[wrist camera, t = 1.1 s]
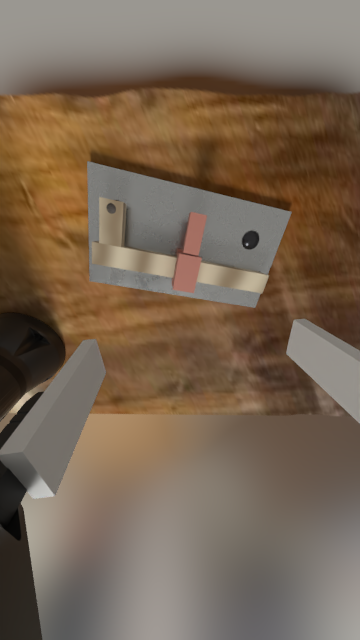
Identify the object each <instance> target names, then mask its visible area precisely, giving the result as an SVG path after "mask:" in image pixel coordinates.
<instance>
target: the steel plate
mask: <svg viewBox="0 0 360 640" xmlns="http://www.w3.org/2000/svg"><path fill="white" fill-rule="evenodd" d="M87 168H88V220H89V273H90V281H93V282H99V283H106V284H112V285H118V286H124V287H130V288H136V289H143V290H149V291H155V292H161V293H167V294H173V295H180V296H186V297H192V298H198V299H204V300H210V301H217V302H223V303H229V304H235V305H241V306H247V307H254V308H255V307H256V304H257V301H258V299H259V296H260V293H257V292H251V291H245V290H240V289H234V288H228V287H222V286H217V285H211V284H205V283H200V282H196V286H195V290H194V293H189V292H183V291H177V290H173V286H172V278H171V277H165V276H160V275H154V274H148V273H142V272H137V271H131V270H125V269H120V268H114V267H108V266H102V265H97V264H92V242H93V241H99V197H102V198H107V199H111V200H116V201H120V202H124V203H125V204H126V205H127V206H126V224H125V242H124V246H127V247H133V248H138V249H143V250H148V251H153V252H159V253H164V254H169V255H174V256H177V254H176V253H177V248H178V249H183V246H184V240H185V234H186V229H187V223H188V218H189V213H190V212H194V213H199V214H203V215H207V219H206V223H205V228H204V233H203V237H202V242H201V246H200V251H199V257H201V258H202V259H201V261H205V262H211V263H216V264H221V265H226V266H231V267H237V268H242V269H247V270H252V271H257V272H261V273H264V274H267V275H268V273H269V270H270V267H271V265H272V262H273V260H274V257H275V254H276V252H277V249H278V246H279V244H280V241H281V239H282V236H283V233H284V231H285V228H286V226H287V223H288V220H289V218H290V215H291V212H290V211H286V210H282V209H278V208H274V207H270V206H266V205H262V204H257V203H253V202H249V201H245V200H241V199H237V198H233V197H229V196H225V195H221V194H217V193H213V192H209V191H205V190H201V189H197V188H193V187H189V186H185V185H181V184H177V183H173V182H169V181H165V180H161V179H157V178H153V177H149V176H145V175H141V174H137V173H133V172H129V171H125V170H121V169H117V168H113V167H108V166H104V165H100V164H96V163H92V162H88V161H87Z"/></svg>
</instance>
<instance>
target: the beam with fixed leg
mask: <svg viewBox="0 0 360 640" xmlns="http://www.w3.org/2000/svg"><path fill="white" fill-rule="evenodd" d="M126 206H127V205H126V204H125V203H124V202H120V201H116V200H111V199H107V198H102V197H99V241H93V242H92V264H97V265H102V266H108V267H114V268H120V269H125V270H131V271H137V272H142V273H148V274H154V275H160V276H165V277H171V278H173V277H174V271H175V265H176V260H177V256H174V255H169V254H164V253H159V252H153V251H148V250H143V249H138V248H133V247H127V246H124V242H125V224H126ZM268 277H269V275H267V274H264V273H261V272H257V271H252V270H247V269H242V268H237V267H231V266H226V265H221V264H216V263H211V262H205V261H201V264H200V268H199V273H198V277H197V282H200V283H205V284H211V285H217V286H222V287H228V288H234V289H240V290H245V291H251V292H257V293H263V290H264V287H265V285H266V282H267V280H268Z"/></svg>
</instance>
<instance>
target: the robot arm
mask: <svg viewBox="0 0 360 640" xmlns="http://www.w3.org/2000/svg"><path fill="white" fill-rule="evenodd" d="M286 354H287V355H288V356H289V357H290V358H291V359H292V360H293V361H295V362H296V363H297V364H298V365H299V366H300V367H301V368H302V369H303V370H304V371H305V372H306V373H307V374H308V375H309V376H310V377H311V378H312V379H313V380H315V381H316V382H317V383H318V384H319V385H320V386H321V387H322V388H323V389H324V390H325V391H326V392H327V393H328V394H329V395H330V396H331V397H332V398H333V399H334V400H336V401H337V402H338V403H339V404H340V405H341V406H342V407H343V408H344V409H345V410H346V411H347V412H348V413H349V414H350V415H351V416H352V417H353V418H354V419H356V420H357V421H358V422H359V423H360V351H359V350H357V349H356V348H354V347H352V346H350V345H349V344H347V343H345V342H344V341H342V340H340V339H338V338H337V337H335V336H333V335H332V334H330V333H328V332H326V331H325V330H323V329H321V328H320V327H318V326H316V325H314V324H313V323H311V322H309V321H308V320H306V319H298V320H294V322H293V326H292V330H291V334H290V339H289V343H288V347H287V352H286ZM64 360H65V349H64V345H63V343H62V341H61V339H60V338H59V336H58V335H57V334H56V333H55V332H54V331H53V330H52V329H51V328H50V327H49V326H48V325H46V324H45V323H43V322H42V321H40V320H38V319H36V318H33V317H31V316H28V315H24V314H19V313H2V314H0V421H1V420H2V419H3V418H4V417H5V416H6V414H7V413H8V412H9V411H10V410H11V409H12V408H13V407H14V405H15V404H16V403H17V402H18V401H19V400H20V399H21V398H22V396H23V395H24V394H25V393H27V392H29V391H30V390H32V389H33V388H34V387H36V386H37V385H39V384H40V383H43V382H45V381H47V380H48V379H50V378H51V377H52V376H54V375H55V373H56V372H57V371H58V370H59V369H60V367H61V366H62V365H63V362H64ZM105 374H106V371H105V367H104V364H103V361H102V357H101V354H100V351H99V348H98V344H97V341H96V339H90V340H83V342H82V343H81V344H80V345H79V347H78V348H77V349H76V351H75V352H74V353H73V355H72V356H71V357H70V359H69V360H68V361H67V363H66V364H65V365H64V367H63V368H62V369H61V370H60V372H59V373H58V374H57V376H56V377H55V378H54V380H53V381H52V382H51V384H50V385H49V386H48V388H47V389H46V390H45V392H38V393H36V394H35V395H34V396H33V397H31V398H30V399H29V400H28V401H26V402H25V404H24V405H23V406H22V407H21V409H20V410H19V411H18V412H17V415H15V416H14V417H13V418H12V419H11V421H10V423H9V424H7V426H6V427H5V428H4V429H3V430H2V432H1V433H0V640H42V634H41V628H40V620H39V613H38V606H37V600H36V593H35V586H34V580H33V572H32V566H31V558H30V551H29V545H28V538H27V531H26V524H25V517H24V511H23V507H22V505H21V501H22V499H23V497H24V495H25V493H26V491H27V492H28V493H29V494H30V495H31V497H32V498H33V499H37V498H43V497H51V496H55V495H56V492H57V490H58V488H59V485H60V483H61V480H62V478H63V475H64V473H65V470H66V468H67V466H68V463H69V461H70V459H71V456H72V454H73V451H74V449H75V446H76V444H77V442H78V439H79V437H80V434H81V432H82V430H83V427H84V425H85V422H86V420H87V418H88V415H89V413H90V410H91V408H92V405H93V403H94V401H95V398H96V396H97V393H98V391H99V389H100V386H101V384H102V381H103V379H104V377H105Z"/></svg>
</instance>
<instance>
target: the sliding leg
mask: <svg viewBox="0 0 360 640" xmlns="http://www.w3.org/2000/svg"><path fill="white" fill-rule="evenodd" d="M206 219H207V215H203V214H199V213H194V212H190V213H189V218H188V223H187V229H186V234H185V240H184V246H183V249H178V248H177V253H176V254H177V260H176V265H175V271H174V277H173V278H172V286H173V290H177V291H183V292H189V293H194V290H195V286H196V282H197V277H198V273H199V268H200V264H201V259H202V258H201V257H199V251H200V246H201V242H202V237H203V233H204V228H205V223H206Z"/></svg>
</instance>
